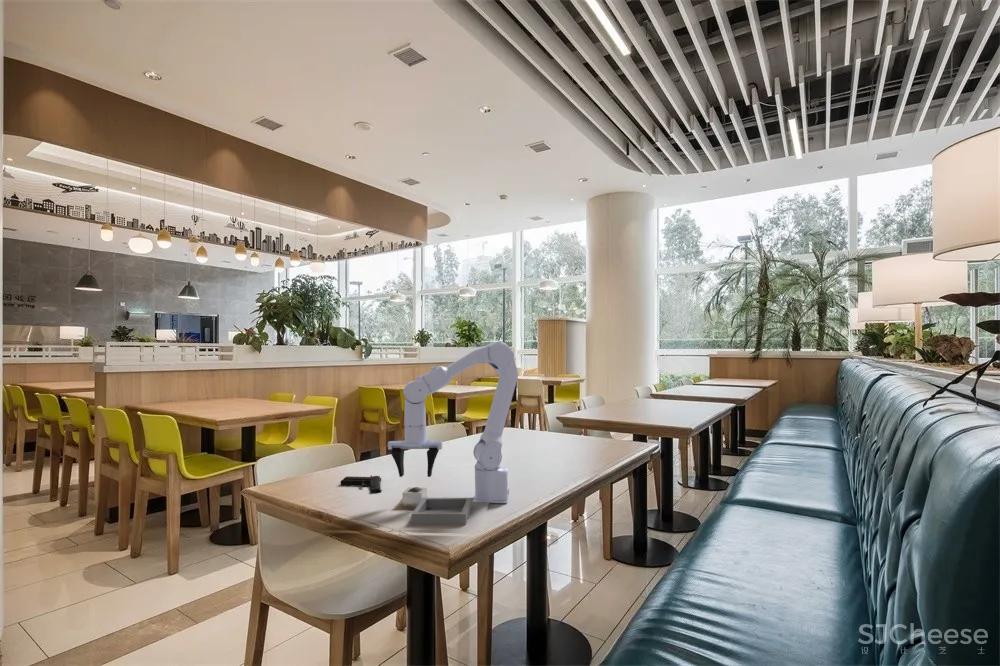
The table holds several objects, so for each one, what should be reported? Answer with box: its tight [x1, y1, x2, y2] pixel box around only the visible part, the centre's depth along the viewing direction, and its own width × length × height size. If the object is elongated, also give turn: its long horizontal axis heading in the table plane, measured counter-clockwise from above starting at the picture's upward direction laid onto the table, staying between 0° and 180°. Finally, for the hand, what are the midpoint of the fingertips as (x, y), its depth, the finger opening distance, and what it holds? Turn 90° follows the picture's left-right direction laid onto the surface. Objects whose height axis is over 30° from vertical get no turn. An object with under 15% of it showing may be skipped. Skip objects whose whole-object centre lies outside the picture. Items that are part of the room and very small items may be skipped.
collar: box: [401, 487, 428, 507], centre depth 134 cm, size 5×5×4 cm
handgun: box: [340, 475, 383, 494], centre depth 152 cm, size 2×18×12 cm
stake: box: [392, 486, 431, 511], centre depth 134 cm, size 10×10×5 cm
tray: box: [411, 497, 473, 526], centre depth 124 cm, size 13×13×3 cm
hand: (415, 475), depth 134 cm, fingers open, 7 cm apart
